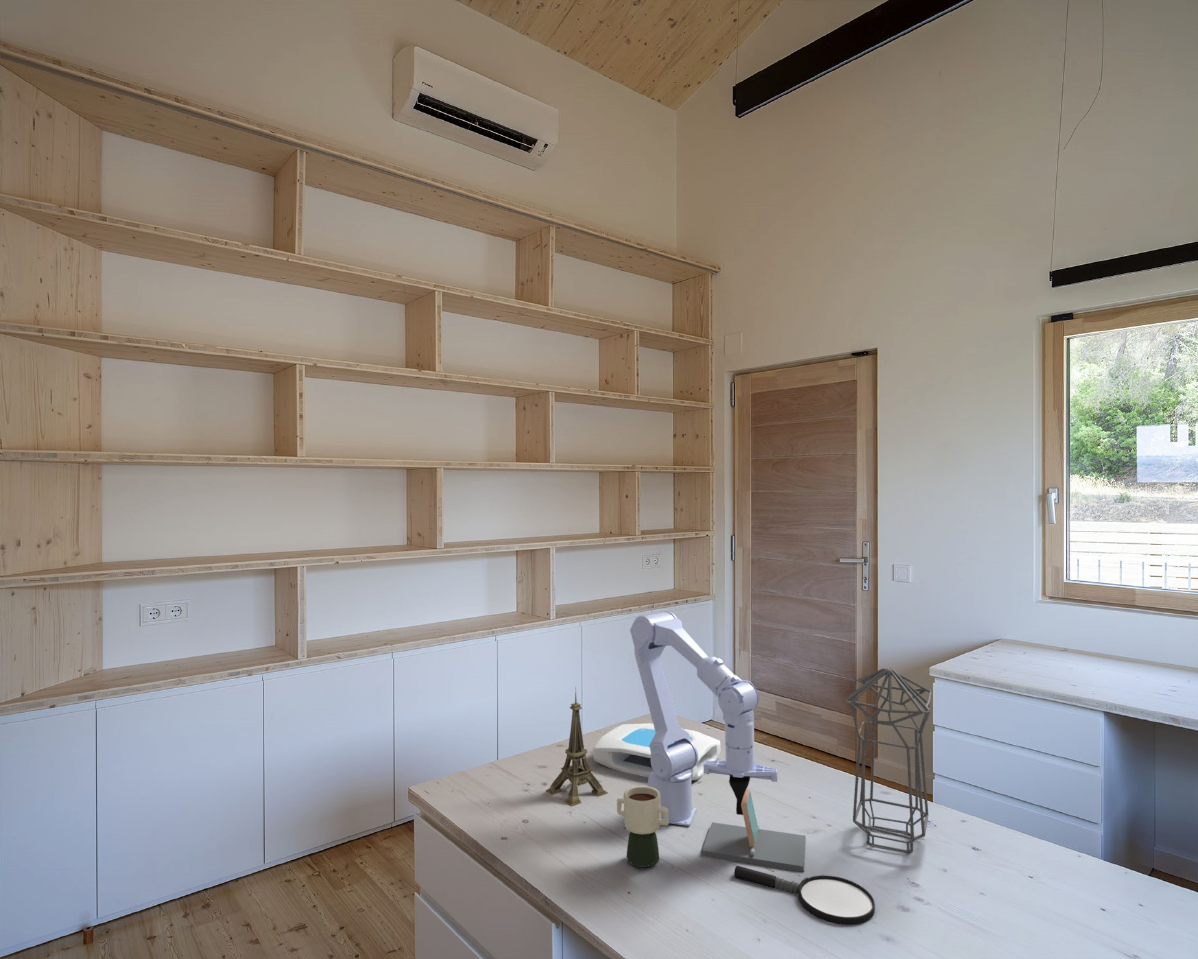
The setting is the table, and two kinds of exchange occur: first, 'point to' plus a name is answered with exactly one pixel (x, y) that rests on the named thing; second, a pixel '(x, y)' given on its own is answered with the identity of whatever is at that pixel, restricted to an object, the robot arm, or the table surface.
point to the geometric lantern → (854, 704)
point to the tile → (749, 818)
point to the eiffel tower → (576, 764)
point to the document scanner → (647, 749)
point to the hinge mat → (756, 847)
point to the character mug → (642, 823)
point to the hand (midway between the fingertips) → (741, 812)
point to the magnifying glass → (821, 895)
